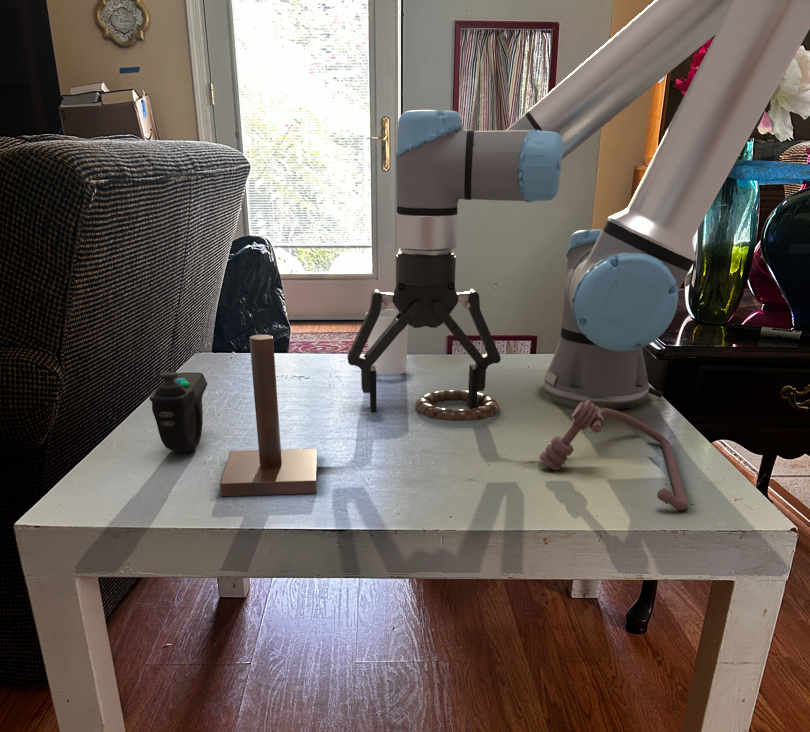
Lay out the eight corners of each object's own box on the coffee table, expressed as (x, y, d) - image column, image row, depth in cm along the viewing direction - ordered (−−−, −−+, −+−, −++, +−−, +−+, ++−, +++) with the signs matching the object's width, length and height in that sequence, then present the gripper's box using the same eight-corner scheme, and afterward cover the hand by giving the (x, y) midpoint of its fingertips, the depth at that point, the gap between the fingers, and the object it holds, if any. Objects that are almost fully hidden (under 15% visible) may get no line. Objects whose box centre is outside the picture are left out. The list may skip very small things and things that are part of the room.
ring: (489, 402, 113) (490, 387, 112) (505, 427, 103) (507, 411, 102) (411, 404, 112) (411, 389, 111) (420, 429, 102) (420, 413, 101)
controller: (154, 464, 90) (141, 379, 86) (182, 430, 102) (172, 353, 97) (191, 465, 90) (180, 379, 86) (215, 430, 101) (207, 353, 97)
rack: (317, 460, 92) (310, 326, 85) (316, 493, 83) (309, 347, 76) (231, 462, 91) (217, 327, 84) (221, 496, 82) (205, 348, 75)
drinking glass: (408, 382, 123) (408, 317, 118) (365, 382, 123) (364, 317, 118) (408, 371, 129) (409, 309, 124) (368, 371, 129) (367, 309, 124)
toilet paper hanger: (698, 501, 78) (583, 425, 77) (644, 561, 82) (534, 489, 81) (676, 433, 97) (583, 371, 96) (632, 484, 101) (543, 425, 100)
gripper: (517, 247, 102) (506, 404, 112) (325, 247, 100) (331, 408, 110) (530, 254, 96) (518, 421, 105) (326, 254, 93) (331, 425, 103)
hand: (422, 414), depth 107 cm, fingers open, 13 cm apart
